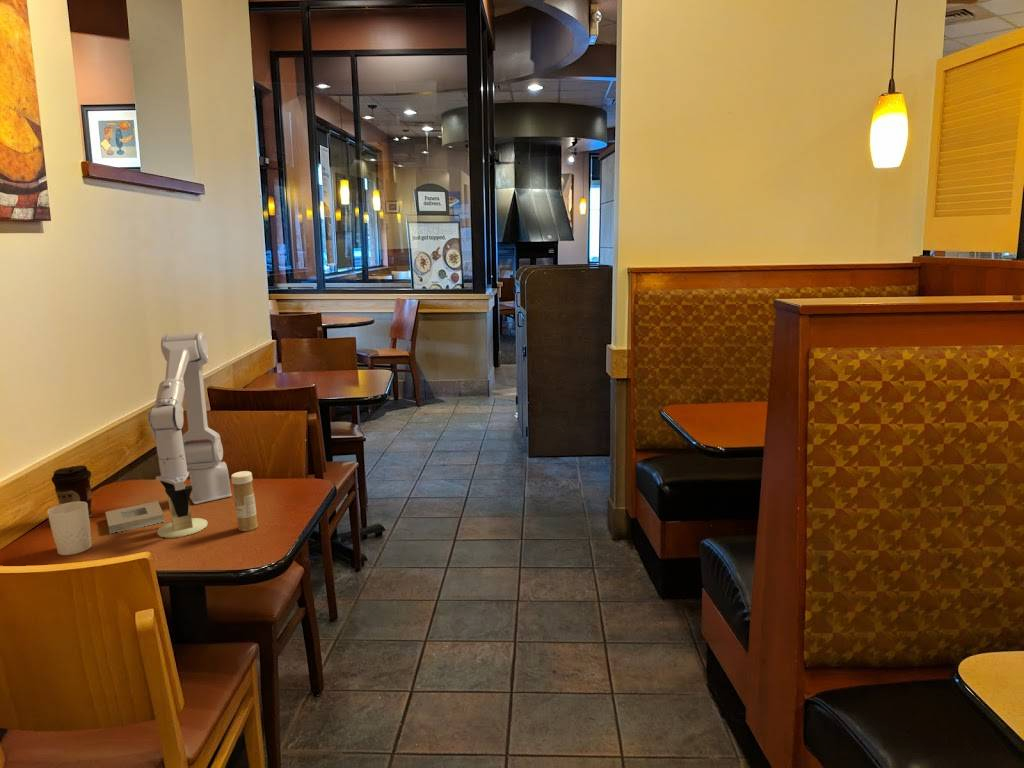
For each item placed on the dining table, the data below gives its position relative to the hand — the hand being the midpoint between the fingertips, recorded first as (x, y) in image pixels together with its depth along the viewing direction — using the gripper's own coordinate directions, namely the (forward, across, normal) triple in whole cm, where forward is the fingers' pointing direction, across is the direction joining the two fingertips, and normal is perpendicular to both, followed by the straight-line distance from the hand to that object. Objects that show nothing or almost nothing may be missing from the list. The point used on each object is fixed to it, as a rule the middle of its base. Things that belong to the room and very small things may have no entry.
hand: (180, 511), depth 180 cm
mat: (+4, 0, 0) cm, 4 cm away
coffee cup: (+5, -26, -21) cm, 34 cm away
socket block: (+4, -14, -9) cm, 17 cm away
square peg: (+4, 0, 0) cm, 4 cm away
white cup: (+5, -3, -22) cm, 23 cm away
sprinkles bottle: (+5, +10, +13) cm, 17 cm away
